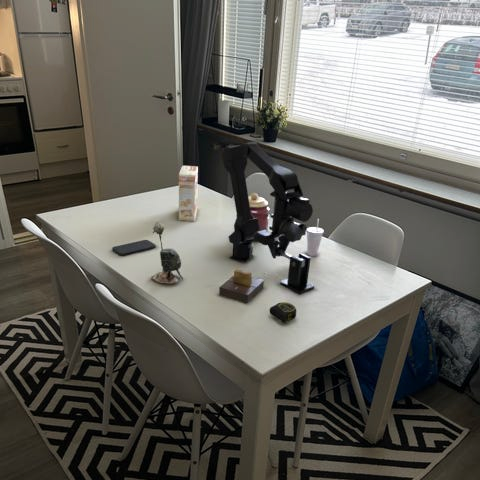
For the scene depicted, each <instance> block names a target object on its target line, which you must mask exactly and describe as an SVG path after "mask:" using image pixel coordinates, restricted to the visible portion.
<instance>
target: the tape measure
mask: <svg viewBox="0 0 480 480" xmlns="http://www.w3.org/2000/svg"><path fill="white" fill-rule="evenodd" d="M269 314H270V315H271V316H272V317H274V318H276V319H277V320H278V321H279V322H281V323H283V324H286V323H287V322H291V321H293V320H294V319H295V318H296V316H297V308H296V306H295V305H294V304H292V303H290V302H284V301H283V302H277V303H276V304H274V305H272V306H270V308H269Z"/></svg>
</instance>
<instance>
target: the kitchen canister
mask: <svg viewBox="0 0 480 480" xmlns="http://www.w3.org/2000/svg"><path fill="white" fill-rule="evenodd" d="M248 198H249V204H250V210H251V214H252V216H253V217H254V218H257V219H258V225H259V228H260V230H259V231H262V230H265V231H267V232H269V220H270V216H269V213H270V211H271V207H269V206H268V205H269V202H268V200H266V199H265V198H264V197H261V196H258V194H257V193H256V192H252V193H251V194H250V195H248ZM236 218H237V214H236ZM253 243H258V242H257V241H254V242H253Z"/></svg>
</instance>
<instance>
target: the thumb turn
mask: <svg viewBox="0 0 480 480" xmlns="http://www.w3.org/2000/svg"><path fill="white" fill-rule="evenodd" d="M252 275H253V273H252V272H250V271H245V270H241V269H238V268H236V269H234V270H233V276H234V281H233V282H235V283H238V284H242V285H246V286H250V285H251V278H252V277H253V276H252Z"/></svg>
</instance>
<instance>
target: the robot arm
mask: <svg viewBox="0 0 480 480" xmlns="http://www.w3.org/2000/svg"><path fill="white" fill-rule="evenodd" d="M248 159H249V160H250V162H252V163H253V164H254V165H255V166H256V167H257V168H258V169H259V170H260V171H261V172H262V173H263V174H264V175H265V176H266V177H267V178H268V183H269V185H270V186H271V187H272V189H273V191H271V192H270V193H269V196H270V197H273V198H274V202H273V211H272V213H270V216H269V218H271V219H272V224H271V225H270V226H269V225H268V230H270V231H268V232H267V231H265V230H262V231H259V230H260V228H259V225H258V219H257V218H254V217H253V216H252V214H251V210H250V204H249V198H248V196H249V193H248V185H247V179H246V174H245V173H246V172H245V171H246V168H247V166H248ZM221 160H222V163H223V167H224V169H225V170H226V171H227V172H228V174H229V177H230V182H231V188H232V193H233V194H232V195H233V199H234V200H233V201H234V205H235V206H234V207H235V212H236V215H237V217H236V218H235V220H234V221H235V222H234V224H233V228H234V229H233V230H234V231H232V233H230V235H229V236H228V241H229V243H230V244H232V248H231V249H232V250H231V251H232V252H231V255H230V257H229V259H231V260H235V261H240V262H243V263H247V262H248V261H249V260H251V259H252V258H253V257H254V255H253V253H254V252H253V250H254V247H253V246H252V245H253V243H255V242H254V241H257V242H256V243H259V244H261V245H264V246H267V247H268V249H269V252H270V254H271V257H272V259H275V260H276V258H277V256H276V255H277V248H278V247H281V248H282V249H283V252H285V253H286V251H287V249H288V246H289V245H290V243H295V242H297V241H301V239H302V237H303V236H305V235H307V232H306V231H307V224H306V222H308V221H309V220H310V219H311V218H312V215H313V212H314V209H313V206H312V204H311V203H310V199H309V198H305V197H303V196H304V193H303V190H302V189H303V188H302V187H301V185H300V182H299V179H298V175H297V174H296V173H295V172H293V171H292V170H291V169H289V168H286V167H283V166H281V165H279V164H278V163H277V162H276V161H275V160H274V159H273V158H271V157H270V156H269V154H267V153H266V152H265V150H263V149H262V148H261V147H260V146H259V144H258V143H257V142H255V141H254V142H253V141H251V142H245V143H243V144H240V145H239V144H237V145H232V146H231V145H230V146H225V147H224V148H223V149H222V151H221ZM295 220H298V221H300V222H302V223H299V222H296V221H295ZM280 257H283V256H282V255H281V256H280Z"/></svg>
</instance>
